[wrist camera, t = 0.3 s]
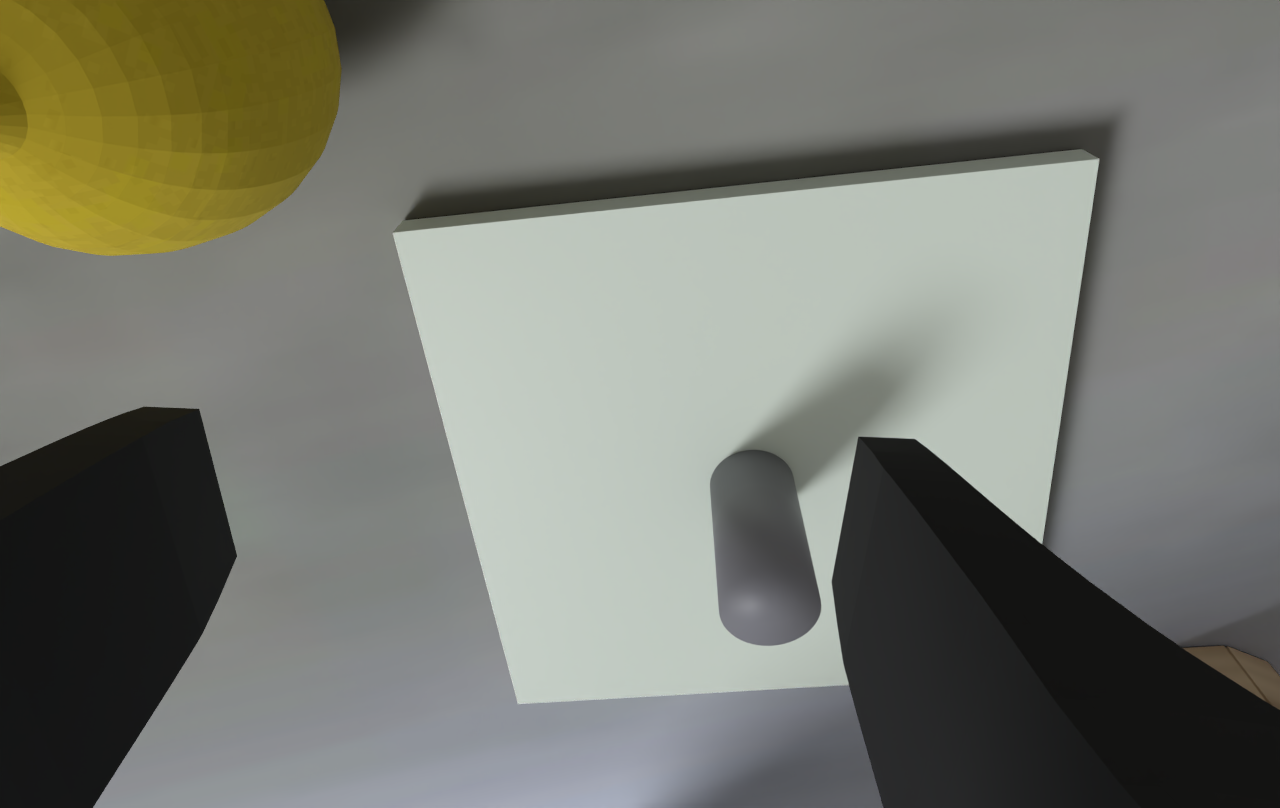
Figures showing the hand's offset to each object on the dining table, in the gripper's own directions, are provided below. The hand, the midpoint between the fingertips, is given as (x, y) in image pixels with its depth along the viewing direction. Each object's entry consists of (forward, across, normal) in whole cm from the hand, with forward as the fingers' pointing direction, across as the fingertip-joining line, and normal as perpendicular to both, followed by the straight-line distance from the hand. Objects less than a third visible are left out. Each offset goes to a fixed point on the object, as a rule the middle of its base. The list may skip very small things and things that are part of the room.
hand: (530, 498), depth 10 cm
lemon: (+10, +7, -4) cm, 13 cm away
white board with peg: (+10, -4, +6) cm, 12 cm away
